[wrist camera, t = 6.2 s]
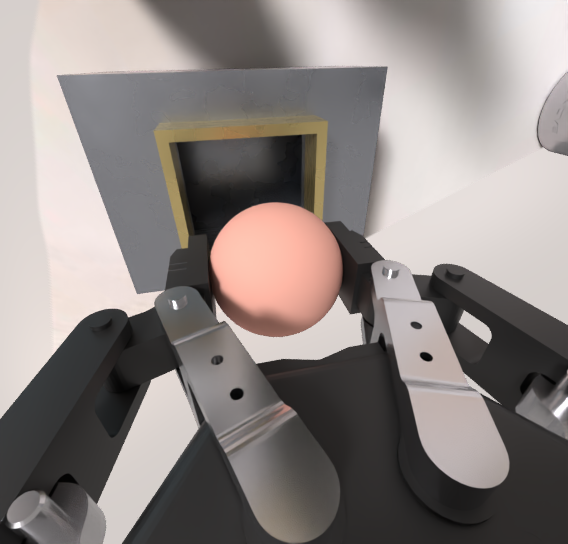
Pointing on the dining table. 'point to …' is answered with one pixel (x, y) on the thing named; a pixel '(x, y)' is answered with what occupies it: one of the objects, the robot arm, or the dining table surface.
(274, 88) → the grey box with opening
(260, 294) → the ball
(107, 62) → the dining table surface
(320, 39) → the dining table surface
